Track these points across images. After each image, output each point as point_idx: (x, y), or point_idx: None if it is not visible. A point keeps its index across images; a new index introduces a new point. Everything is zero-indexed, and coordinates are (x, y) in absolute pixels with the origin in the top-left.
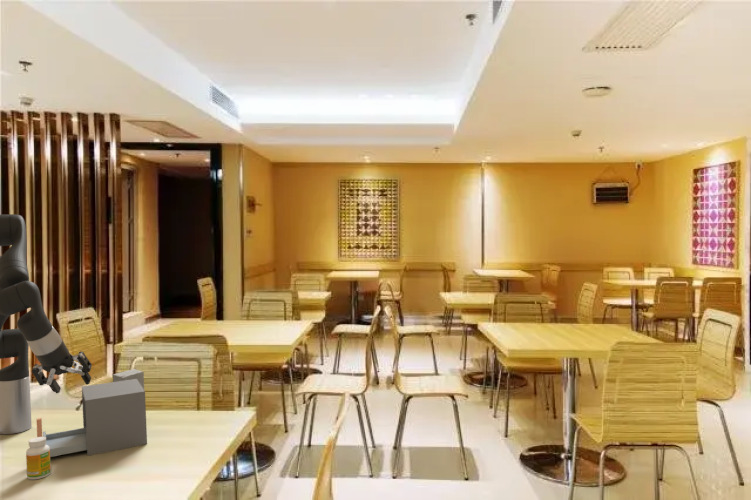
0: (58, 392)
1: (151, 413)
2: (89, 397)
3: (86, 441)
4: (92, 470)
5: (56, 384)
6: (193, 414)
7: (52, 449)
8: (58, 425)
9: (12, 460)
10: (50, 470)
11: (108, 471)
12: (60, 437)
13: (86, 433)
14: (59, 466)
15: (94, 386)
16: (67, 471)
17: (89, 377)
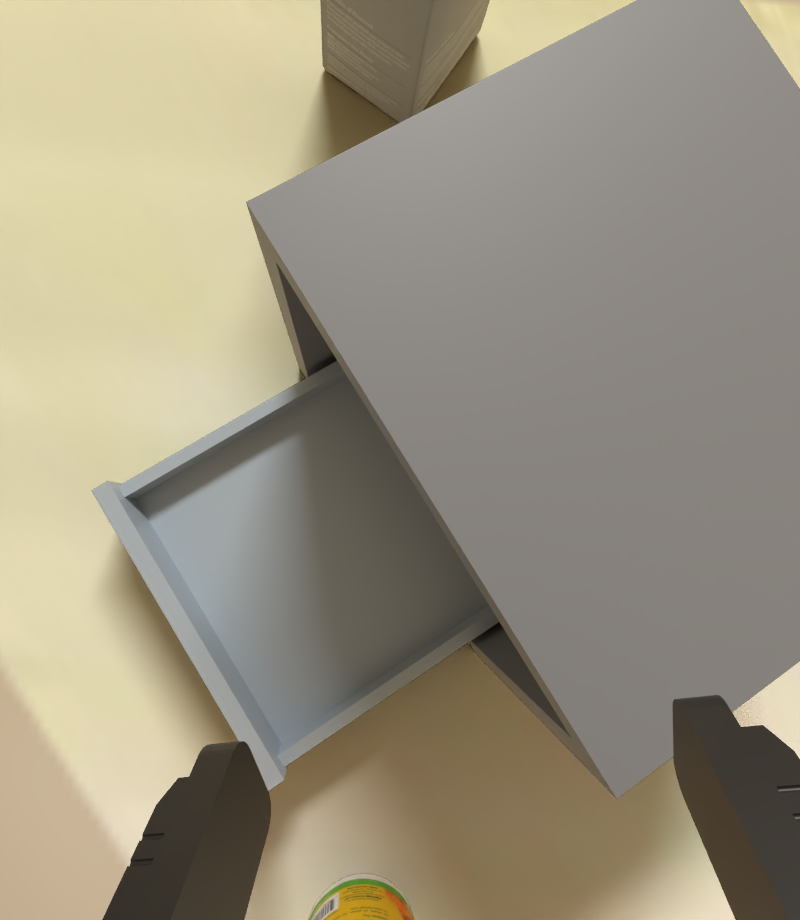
0: (268, 821)
1: (502, 10)
2: (596, 674)
3: (413, 542)
4: (606, 852)
5: (210, 888)
6: None
7: (314, 746)
8: (24, 154)
9: (70, 714)
10: (413, 917)
11: (694, 863)
12: (210, 467)
13: (339, 406)
14: (400, 800)
15: (403, 217)
16: (482, 867)
17: (790, 792)
